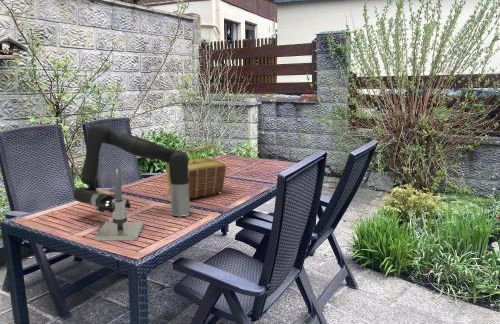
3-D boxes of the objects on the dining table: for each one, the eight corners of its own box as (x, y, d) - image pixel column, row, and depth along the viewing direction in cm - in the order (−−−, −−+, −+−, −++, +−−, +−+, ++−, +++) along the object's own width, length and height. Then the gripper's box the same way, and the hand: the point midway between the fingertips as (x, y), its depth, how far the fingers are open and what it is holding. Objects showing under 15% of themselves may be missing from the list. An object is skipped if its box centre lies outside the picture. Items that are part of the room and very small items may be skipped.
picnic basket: (186, 204, 237) (185, 152, 231) (164, 194, 257) (163, 146, 251) (228, 195, 256) (228, 147, 250) (204, 186, 275) (204, 141, 269)
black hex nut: (127, 219, 194) (127, 215, 194) (125, 223, 189) (124, 219, 188) (115, 219, 194) (114, 215, 194) (111, 223, 188) (111, 219, 188)
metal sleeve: (127, 215, 194) (126, 198, 192) (124, 219, 188) (123, 202, 187) (114, 215, 194) (113, 198, 192) (111, 219, 188) (110, 202, 186)
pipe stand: (144, 225, 202) (141, 165, 196) (136, 240, 184) (133, 173, 178) (105, 226, 201) (102, 165, 195) (94, 240, 183) (90, 173, 177)
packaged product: (90, 189, 249) (106, 186, 256) (90, 197, 250) (106, 194, 257) (103, 195, 237) (120, 192, 243) (104, 204, 237) (120, 200, 244)
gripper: (87, 196, 193) (106, 203, 183) (115, 190, 204) (134, 196, 193) (89, 212, 195) (107, 220, 184) (116, 205, 205) (135, 212, 195)
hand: (121, 208), depth 189 cm, fingers open, 8 cm apart
